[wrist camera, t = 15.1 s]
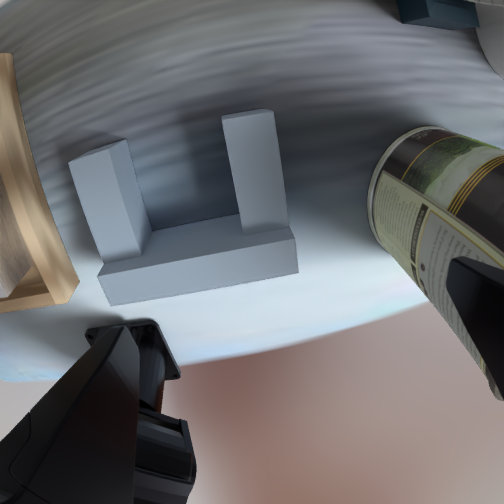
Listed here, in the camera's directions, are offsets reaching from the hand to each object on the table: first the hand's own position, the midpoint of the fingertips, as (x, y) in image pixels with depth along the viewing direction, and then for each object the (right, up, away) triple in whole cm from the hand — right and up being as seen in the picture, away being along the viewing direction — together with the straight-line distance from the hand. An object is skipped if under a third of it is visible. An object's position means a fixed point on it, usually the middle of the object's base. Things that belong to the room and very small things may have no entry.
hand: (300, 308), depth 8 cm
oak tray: (-19, +6, +9) cm, 22 cm away
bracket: (-5, +6, +10) cm, 13 cm away
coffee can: (+11, +5, +12) cm, 18 cm away
